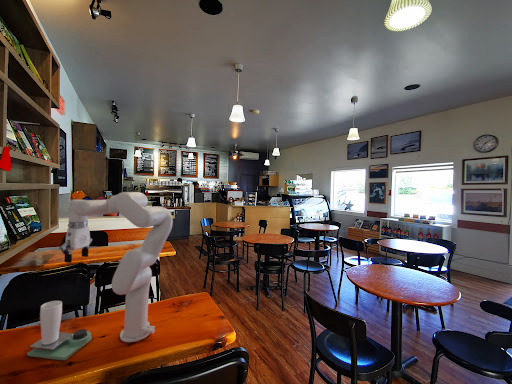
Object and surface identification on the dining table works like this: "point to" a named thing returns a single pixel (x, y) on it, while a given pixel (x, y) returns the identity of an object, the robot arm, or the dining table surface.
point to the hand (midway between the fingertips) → (76, 259)
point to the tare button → (80, 334)
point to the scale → (62, 349)
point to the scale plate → (61, 339)
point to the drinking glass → (50, 321)
